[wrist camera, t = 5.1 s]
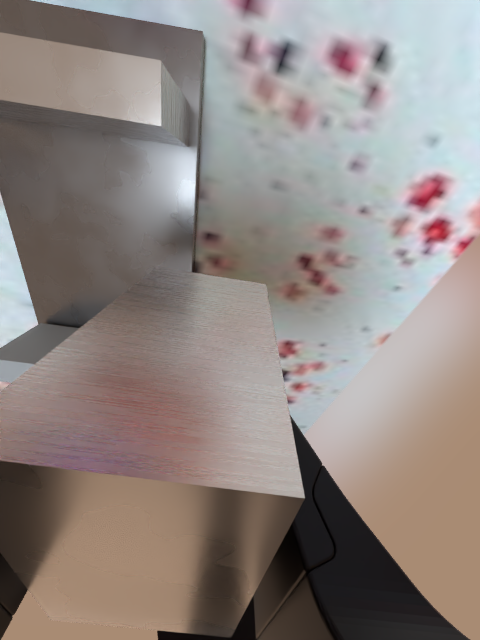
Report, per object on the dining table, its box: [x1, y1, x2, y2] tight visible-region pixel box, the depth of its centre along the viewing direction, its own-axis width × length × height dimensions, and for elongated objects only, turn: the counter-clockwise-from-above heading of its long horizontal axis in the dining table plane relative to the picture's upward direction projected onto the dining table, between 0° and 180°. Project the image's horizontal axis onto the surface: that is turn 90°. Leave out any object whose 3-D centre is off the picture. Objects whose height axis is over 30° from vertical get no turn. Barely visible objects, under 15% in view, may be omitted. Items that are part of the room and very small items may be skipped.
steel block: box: [0, 267, 305, 637], centre depth 7 cm, size 4×6×7 cm, turn 171°
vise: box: [0, 0, 205, 328], centre depth 16 cm, size 13×24×6 cm, turn 172°
